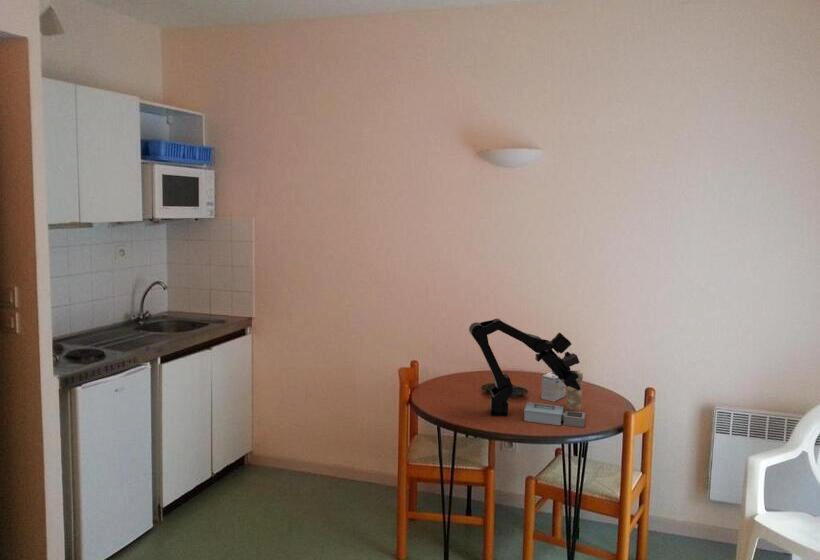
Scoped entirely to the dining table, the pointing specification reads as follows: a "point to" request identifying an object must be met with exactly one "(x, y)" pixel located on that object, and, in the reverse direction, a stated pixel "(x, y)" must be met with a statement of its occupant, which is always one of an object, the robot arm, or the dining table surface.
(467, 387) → the dining table surface
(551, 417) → the toolbox
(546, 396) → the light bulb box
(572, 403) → the wooden block
